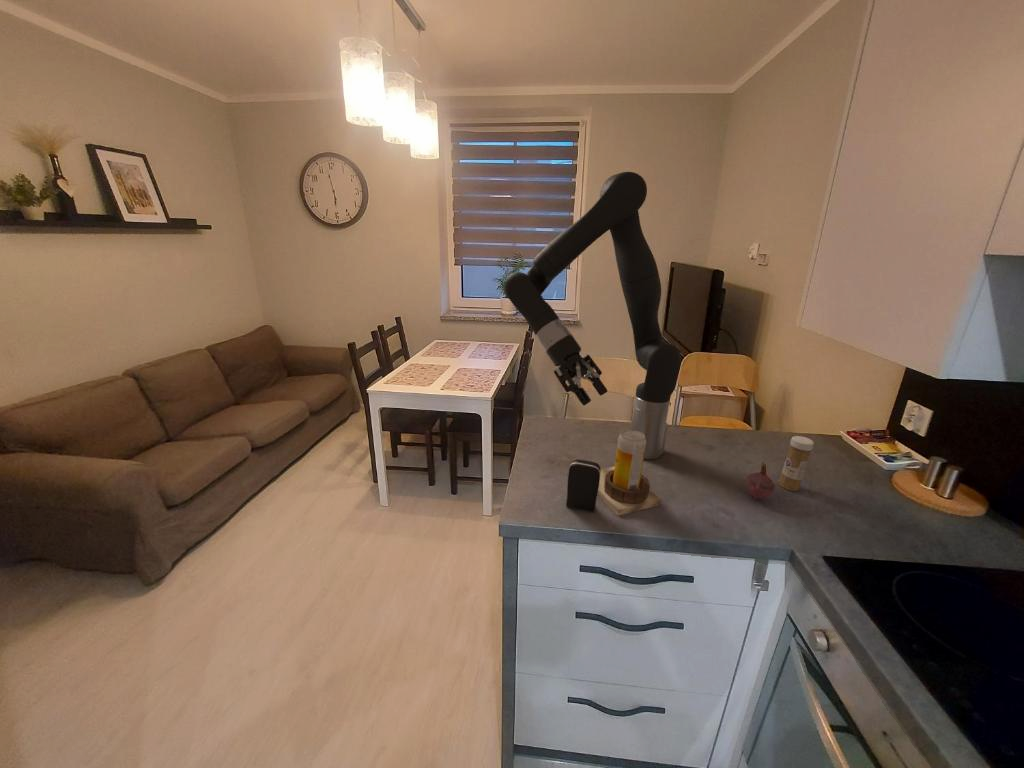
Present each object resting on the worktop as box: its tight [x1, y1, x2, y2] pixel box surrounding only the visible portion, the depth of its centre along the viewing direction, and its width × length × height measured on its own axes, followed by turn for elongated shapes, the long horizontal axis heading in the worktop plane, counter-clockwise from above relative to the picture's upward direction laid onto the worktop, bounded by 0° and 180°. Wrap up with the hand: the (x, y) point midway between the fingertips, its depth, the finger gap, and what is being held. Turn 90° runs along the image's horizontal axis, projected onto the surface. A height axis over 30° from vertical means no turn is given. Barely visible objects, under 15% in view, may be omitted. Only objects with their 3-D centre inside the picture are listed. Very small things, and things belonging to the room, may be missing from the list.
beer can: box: [613, 429, 646, 490], centre depth 95 cm, size 6×6×15 cm
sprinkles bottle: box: [778, 435, 815, 492], centre depth 102 cm, size 5×5×14 cm
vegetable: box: [745, 461, 775, 500], centre depth 97 cm, size 6×6×10 cm
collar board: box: [597, 465, 662, 516], centre depth 99 cm, size 12×16×4 cm
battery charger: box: [565, 458, 602, 513], centre depth 92 cm, size 7×4×11 cm, turn 71°
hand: (596, 398), depth 96 cm, fingers open, 8 cm apart
